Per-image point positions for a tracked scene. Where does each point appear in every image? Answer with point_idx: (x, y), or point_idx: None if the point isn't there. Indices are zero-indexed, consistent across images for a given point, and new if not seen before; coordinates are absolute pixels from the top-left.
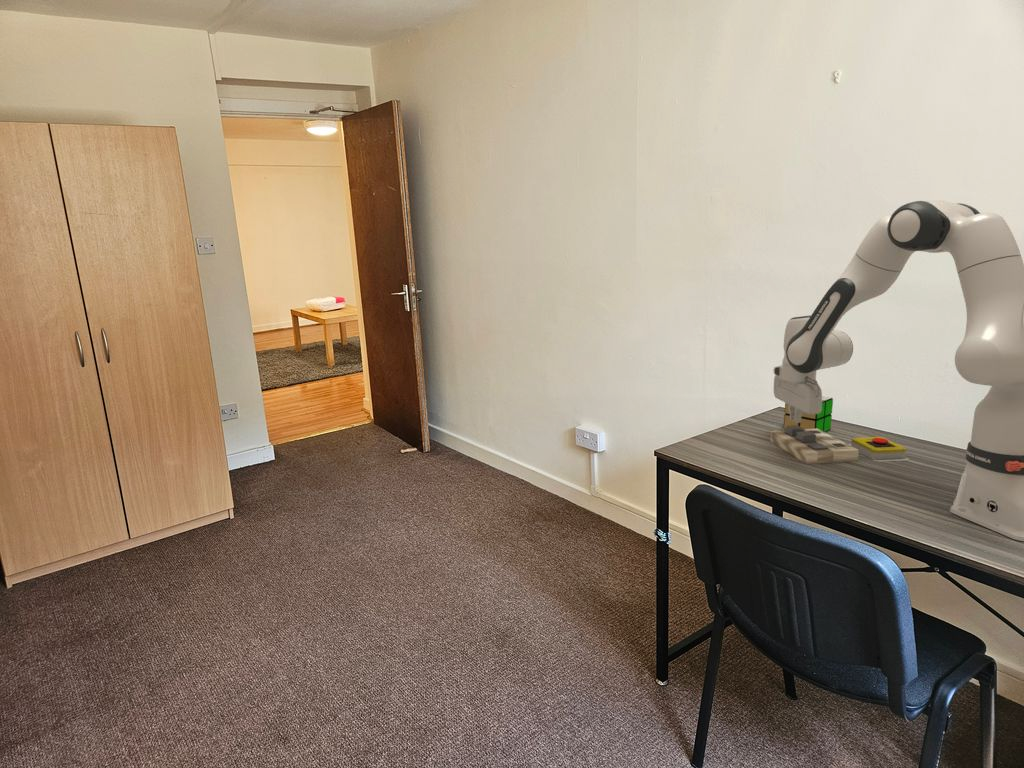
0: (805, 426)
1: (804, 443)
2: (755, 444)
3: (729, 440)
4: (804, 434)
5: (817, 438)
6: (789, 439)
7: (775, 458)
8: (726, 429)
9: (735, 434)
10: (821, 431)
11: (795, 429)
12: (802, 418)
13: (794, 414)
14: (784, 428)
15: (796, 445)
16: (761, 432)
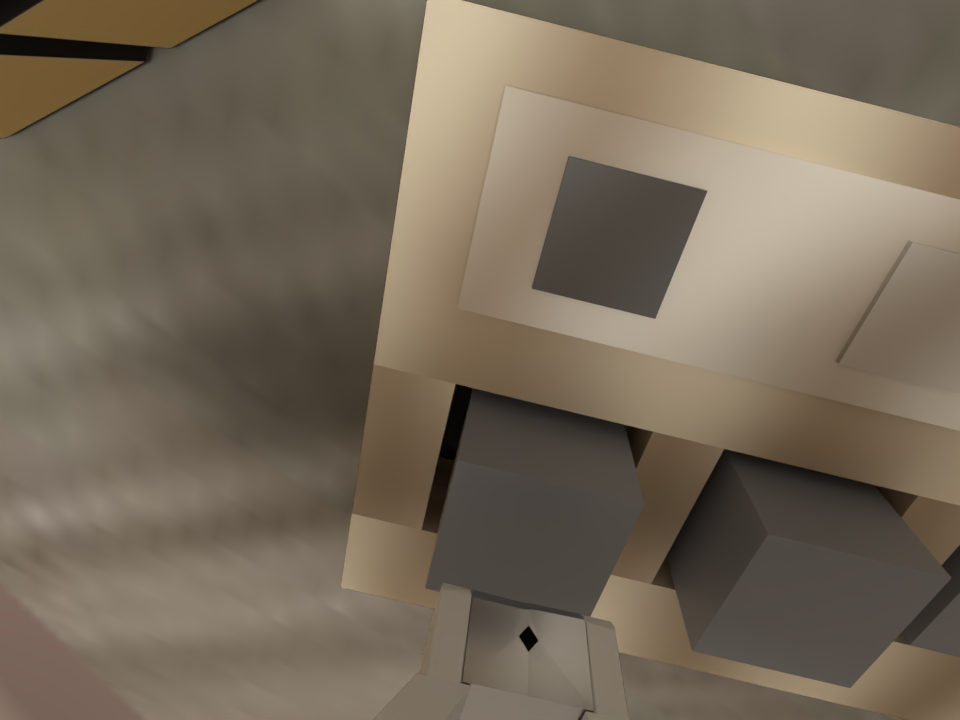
0: (169, 3)
1: None
2: (411, 631)
3: (278, 689)
4: (826, 653)
5: (815, 392)
6: (651, 629)
7: (726, 708)
8: (10, 572)
9: (147, 596)
10: (601, 68)
11: (598, 594)
12: (10, 13)
13: (457, 714)
14: (5, 137)
15: (825, 690)
16: (110, 414)
